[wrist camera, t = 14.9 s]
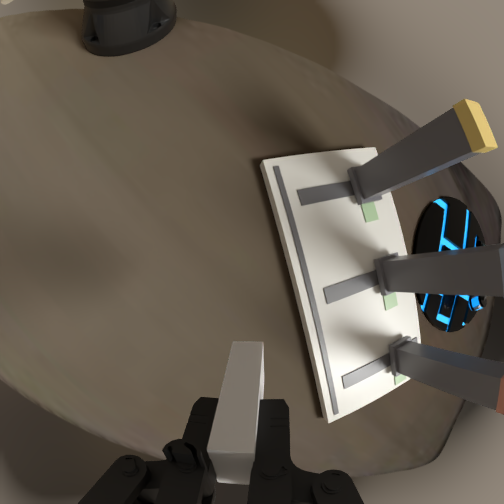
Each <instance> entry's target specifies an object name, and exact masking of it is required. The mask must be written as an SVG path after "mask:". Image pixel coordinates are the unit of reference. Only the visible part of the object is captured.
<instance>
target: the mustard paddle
mask: <svg viewBox="0 0 504 504" xmlns="http://www.w3.org/2000/svg"><path fill="white" fill-rule="evenodd" d="M497 147H498V146H497V144H496V141H495V139H494V136H493V134H492V131H491V129H490V126H489V124H488V123H487V120H486V118H485V115H484V113H483V111H482V109H481V107H480V105H479V103H477V102H474V101H471V100H467V99H463V100H461V101H460V102H458V103H457V104H455V105H453V108H452V109H450V110H449V111H447V112H445V113H444V114H442V115H441V116H439V117H437V118H436V119H434V120H433V121H431V122H430V123H428V124H426V125H425V126H423V127H421V128H420V129H418V130H417V131H415V132H414V133H412V134H410V135H409V136H407V137H406V138H404V139H402V140H401V141H399V142H398V143H396V144H395V145H393V146H391V147H390V148H388V149H387V150H385V151H384V152H382V153H380V154H379V155H377V156H376V157H374V158H373V159H371V160H370V161H368V162H366V163H365V164H363V165H362V166H356V167H350V168H349V169H348V170H347V172H348V175H349V178H350V181H351V184H352V187H353V190H354V194H355V197H356V200H357V204H358V205H361V204H366V203H371V202H375V201H379V200H382V196H381V195H384V194H386V193H388V192H391V191H393V190H395V189H398V188H400V187H402V186H405V185H407V184H409V183H412V182H414V181H416V180H419V179H421V178H423V177H426V176H428V175H431V174H433V173H435V172H438V171H440V170H442V169H445V168H447V167H449V166H452V165H454V164H456V163H459V162H461V161H463V160H466V159H468V158H470V157H473V156H475V155H478V154H480V153H486V152H488V151H491V150H493V149H496V148H497Z"/></svg>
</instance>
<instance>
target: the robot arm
mask: <svg viewBox="0 0 504 504" xmlns="http://www.w3.org/2000/svg"><path fill="white" fill-rule="evenodd" d="M83 2H84V5H85V8H84V15H83V24H82V39H83V41H84V44H85V47H86V48H87V50H88V51H90V52H91V53H93V54H96V55H100V56H117V55H123V54H128V53H132V52H135V51H138V50H141V49H144V48H146V47H148V46H150V45H152V44H154V43H156V42H158V41H159V40H161V39H162V38H164V37H165V36H166V35H167V34H168V33H169V32H170V31H171V30H172V29H173V27H174V26H175V23H176V6H175V3H174V2H173V0H83ZM263 392H264V356H263V342H252V341H233V343H232V347H231V351H230V355H229V359H228V363H227V368H226V372H225V376H224V380H223V384H222V388H221V392H220V397H219V398H208V397H200V398H199V399H198V400H197V401H196V402H195V404H194V405H193V407H192V411H191V414H190V417H189V420H188V423H187V426H186V429H185V432H184V435H183V438H182V439H177V440H173V441H171V442H169V443H168V444H166V445H165V447H164V448H163V450H162V451H163V452H164V454H165V456H166V458H167V459H166V460H161V461H146V462H144V461H143V460H142V459H141V458H140V457H138V456H135V455H125V456H122V457H120V458H118V459H117V460H116V461H115V462H114V463H113V464H112V465H111V467H110V468H109V469H108V470H107V471H106V472H105V473H104V475H103V476H102V477H101V478H100V479H99V480H98V481H97V483H96V484H95V485H94V486H93V487H92V488H91V489H90V490H89V492H88V493H87V494H86V495H85V496H84V497H83V498H82V499H81V500H80V502H79V503H78V504H214V501H215V496H216V491H215V487H214V486H215V481H216V479H217V481H218V482H222V483H233V484H249V492H248V501H247V504H364V503H363V501H362V499H361V497H360V495H359V493H358V491H357V489H356V487H355V485H354V483H353V481H352V479H351V478H350V476H349V475H348V474H347V473H345V472H343V471H340V470H327V471H324V472H322V473H320V474H318V473H313V472H308V471H304V470H301V469H300V468H298V467H296V466H295V465H294V464H293V462H292V460H291V457H290V427H289V407H288V405H287V404H286V402H285V401H284V399H263Z"/></svg>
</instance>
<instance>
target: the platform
mask: <svg viewBox="0 0 504 504" xmlns="http://www.w3.org/2000/svg"><path fill="white" fill-rule="evenodd" d="M479 246H486V245H485V241H484V237H483V234H482V231H481V228H480V226H479V224H478V222H477V220H476V218H475V216H474V215H473V213H472V212H471V211H470V212H469V211H468V210H467V206H466V205H465V204H464V203H462V202H461V201H460V200H458V199H455V198H452V197H444V198H441V199H438V200H435V201H434V202H433V203H432V204H430V205H429V206H428V208H427V209H426V210H425V212H424V213H423V215H422V217H421V220H420V222H419V224H418V228H417V232H416V235H415V241H414V249H413V254H421V253H430V252H439V251H447V250H455V249H463V248H471V247H479ZM416 294H417V298H418V300H419V303H420V306H421V309H422V311H423V313H424V314H425V316H426V318H427V319H428V321H429V322H430V323H431V324H432V325H433V326H434V327H436V328H437V329H439V330H442V331H446V332H454V331H458V330H460V329H462V328H464V327H465V326H463V325H464V324H465V323H469V322H470V321H471V320H472V318H473V317H474V316H475V314H476V312H477V310H481V309H483V308H484V307H485V306H486V296H472V295H446V294H424V293H416Z"/></svg>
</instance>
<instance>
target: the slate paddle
mask: <svg viewBox="0 0 504 504" xmlns="http://www.w3.org/2000/svg"><path fill="white" fill-rule="evenodd" d="M374 264H375V268H376V273H377V277H378V282H379V287H380V292H381V295H382V296H387V295H389V294H391V293H394V292H405V293H424V294H446V295H472V296H504V243H503V244H495V245H487V246H479V247H471V248H463V249H455V250H447V251H439V252H430V253H421V254H413V255H404V256H398V252H396V253H391V254H388V255H385V256H383V257H380V258H377V259H374Z"/></svg>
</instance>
